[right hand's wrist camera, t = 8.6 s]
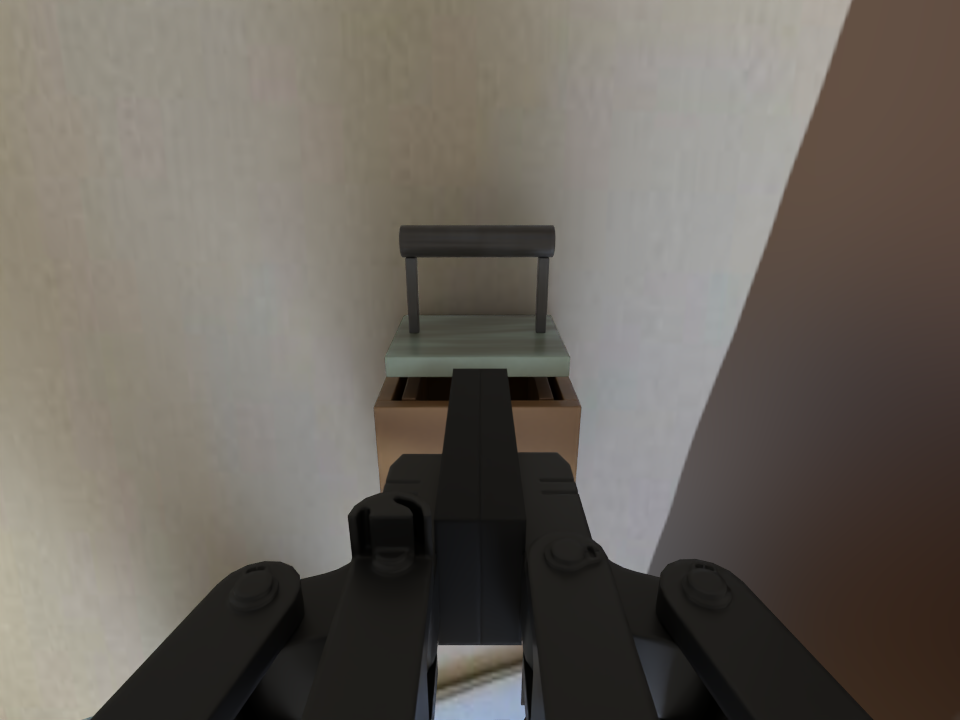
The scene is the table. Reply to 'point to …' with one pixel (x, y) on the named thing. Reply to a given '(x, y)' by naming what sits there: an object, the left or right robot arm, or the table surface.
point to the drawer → (477, 318)
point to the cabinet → (425, 421)
